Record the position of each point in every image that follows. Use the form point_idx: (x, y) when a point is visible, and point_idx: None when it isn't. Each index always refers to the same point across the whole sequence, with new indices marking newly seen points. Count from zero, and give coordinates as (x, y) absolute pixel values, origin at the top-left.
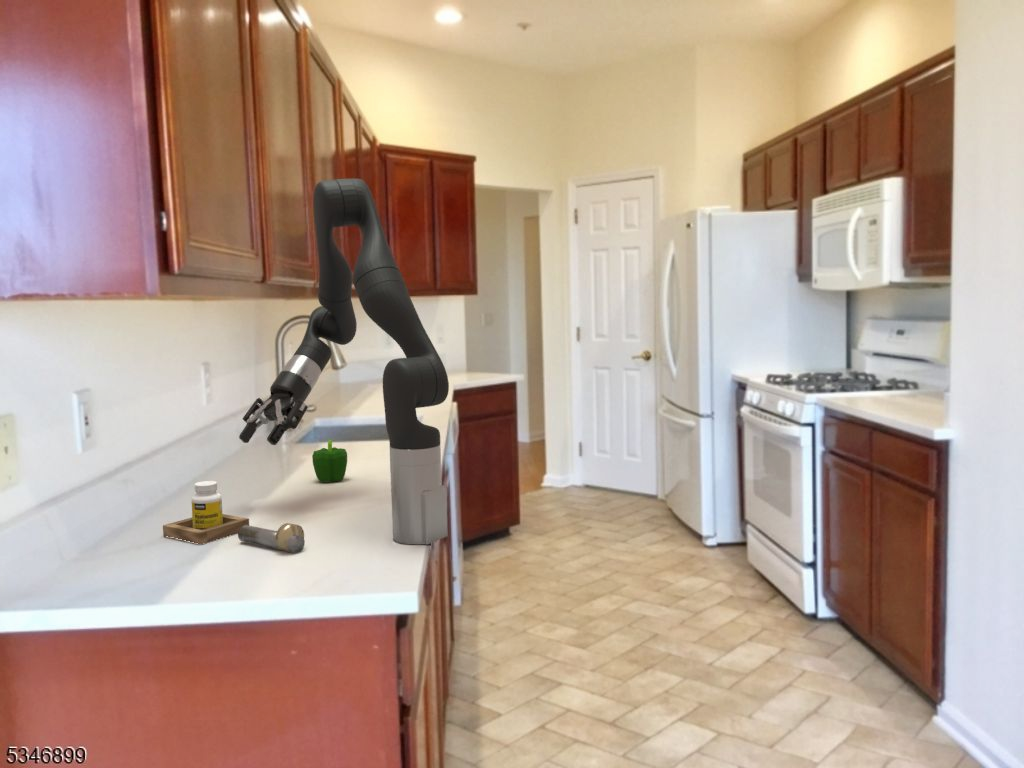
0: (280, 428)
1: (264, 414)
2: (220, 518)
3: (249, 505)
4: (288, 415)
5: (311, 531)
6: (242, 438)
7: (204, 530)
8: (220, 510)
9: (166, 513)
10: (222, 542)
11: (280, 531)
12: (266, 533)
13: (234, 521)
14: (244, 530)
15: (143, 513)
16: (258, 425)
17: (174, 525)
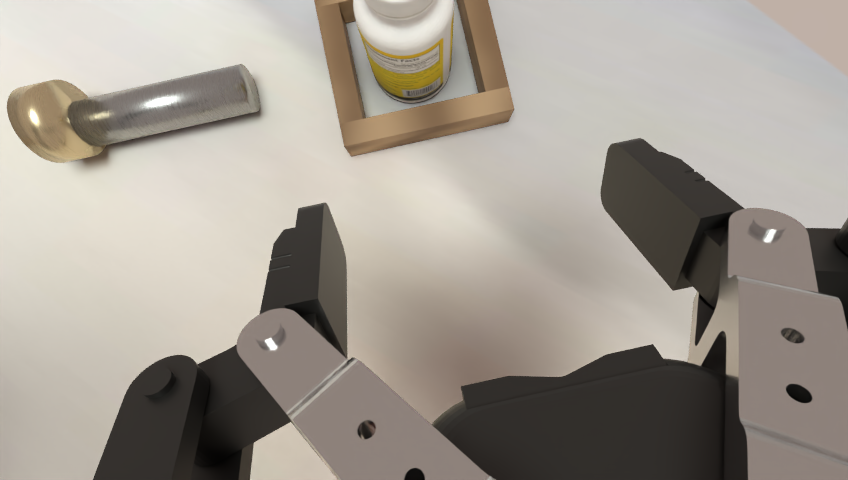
0: (264, 308)
1: (652, 349)
2: (372, 67)
3: (626, 294)
4: (173, 439)
5: (200, 264)
6: (608, 155)
7: (326, 5)
8: (370, 56)
9: (728, 74)
10: (298, 55)
11: (38, 83)
12: (131, 90)
13: (349, 103)
14: (217, 69)
15: (783, 28)
16: (696, 314)
17: None
